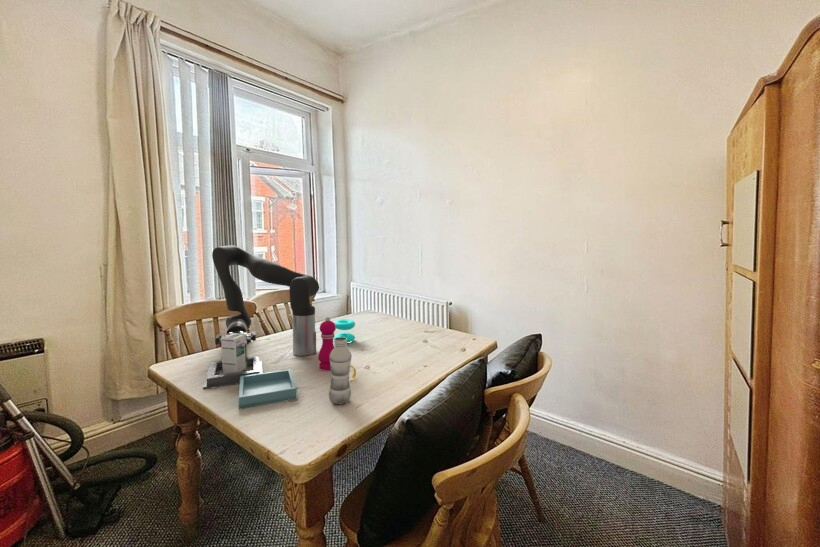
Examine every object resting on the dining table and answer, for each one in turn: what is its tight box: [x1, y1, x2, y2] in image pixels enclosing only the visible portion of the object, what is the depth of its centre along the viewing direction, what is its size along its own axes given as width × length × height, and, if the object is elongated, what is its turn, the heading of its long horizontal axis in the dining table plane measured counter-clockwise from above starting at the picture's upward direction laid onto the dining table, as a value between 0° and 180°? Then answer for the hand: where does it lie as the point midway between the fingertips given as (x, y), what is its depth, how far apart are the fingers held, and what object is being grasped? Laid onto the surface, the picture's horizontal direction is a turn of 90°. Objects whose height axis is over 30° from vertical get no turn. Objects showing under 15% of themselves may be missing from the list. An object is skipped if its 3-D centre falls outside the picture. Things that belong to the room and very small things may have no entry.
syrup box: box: [220, 333, 248, 374], centre depth 119 cm, size 6×6×14 cm
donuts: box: [333, 318, 356, 342], centre depth 160 cm, size 10×10×10 cm
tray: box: [238, 368, 298, 410], centre depth 107 cm, size 16×16×4 cm
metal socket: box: [202, 355, 264, 389], centre depth 120 cm, size 18×18×3 cm
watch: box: [350, 363, 357, 379], centre depth 118 cm, size 6×3×6 cm, turn 119°
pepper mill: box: [317, 316, 337, 371], centre depth 128 cm, size 7×7×20 cm
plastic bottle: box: [328, 337, 353, 405], centre depth 102 cm, size 6×7×20 cm
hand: (235, 343), depth 127 cm, fingers open, 8 cm apart
